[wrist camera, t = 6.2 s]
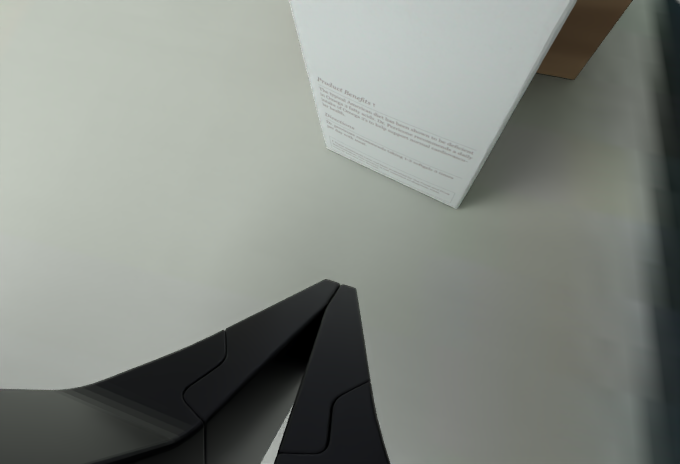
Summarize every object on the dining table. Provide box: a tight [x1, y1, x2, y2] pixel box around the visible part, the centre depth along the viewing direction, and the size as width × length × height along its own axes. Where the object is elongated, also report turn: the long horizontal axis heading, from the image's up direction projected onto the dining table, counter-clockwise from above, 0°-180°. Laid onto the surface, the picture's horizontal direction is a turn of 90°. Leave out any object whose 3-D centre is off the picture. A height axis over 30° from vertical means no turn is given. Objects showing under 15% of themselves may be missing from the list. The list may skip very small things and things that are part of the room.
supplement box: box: [289, 0, 577, 208], centre depth 12 cm, size 7×7×13 cm
